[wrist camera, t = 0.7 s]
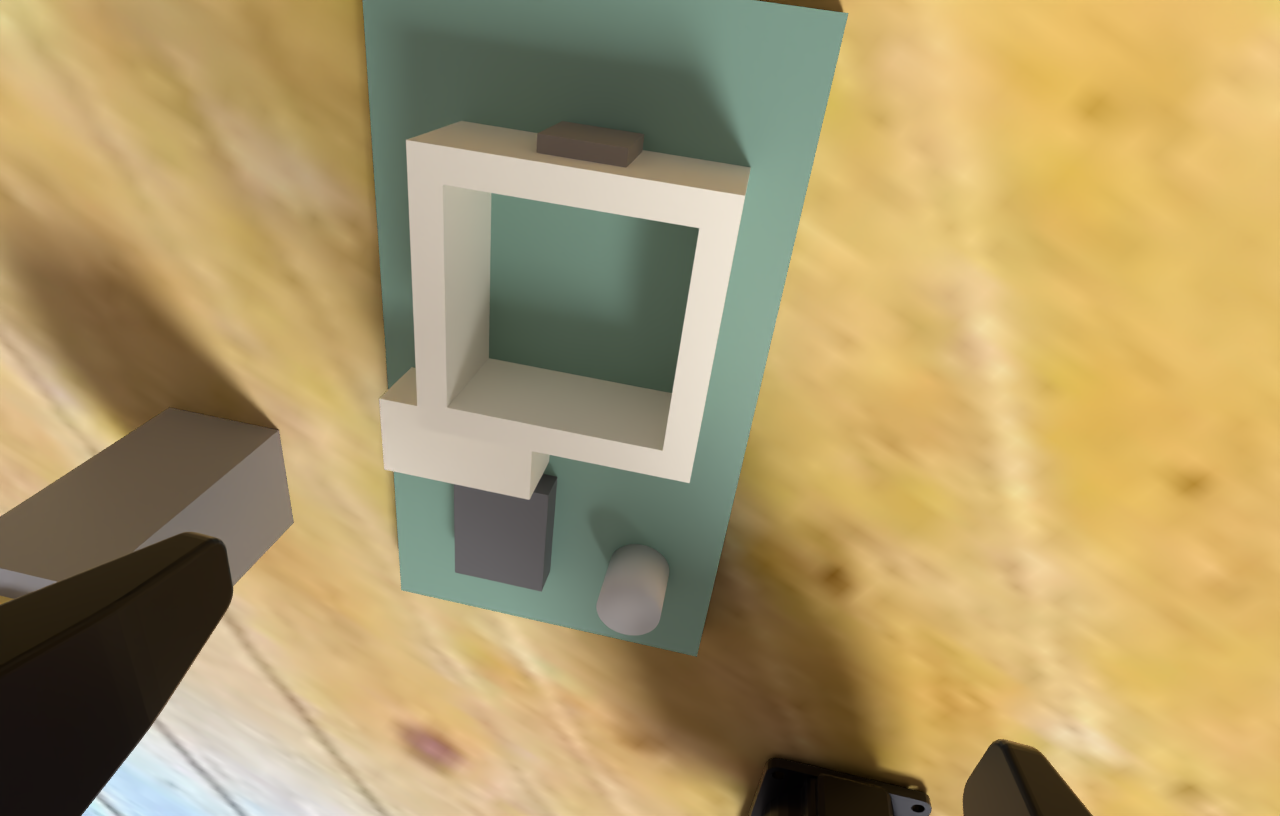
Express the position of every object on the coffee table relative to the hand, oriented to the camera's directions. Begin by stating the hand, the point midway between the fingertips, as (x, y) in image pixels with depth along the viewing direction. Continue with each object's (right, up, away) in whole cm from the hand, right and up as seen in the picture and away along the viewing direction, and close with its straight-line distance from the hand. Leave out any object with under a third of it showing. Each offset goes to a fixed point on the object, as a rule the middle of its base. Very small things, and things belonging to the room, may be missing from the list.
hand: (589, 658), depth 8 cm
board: (-1, +4, +13) cm, 14 cm away
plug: (-14, +1, +18) cm, 23 cm away
